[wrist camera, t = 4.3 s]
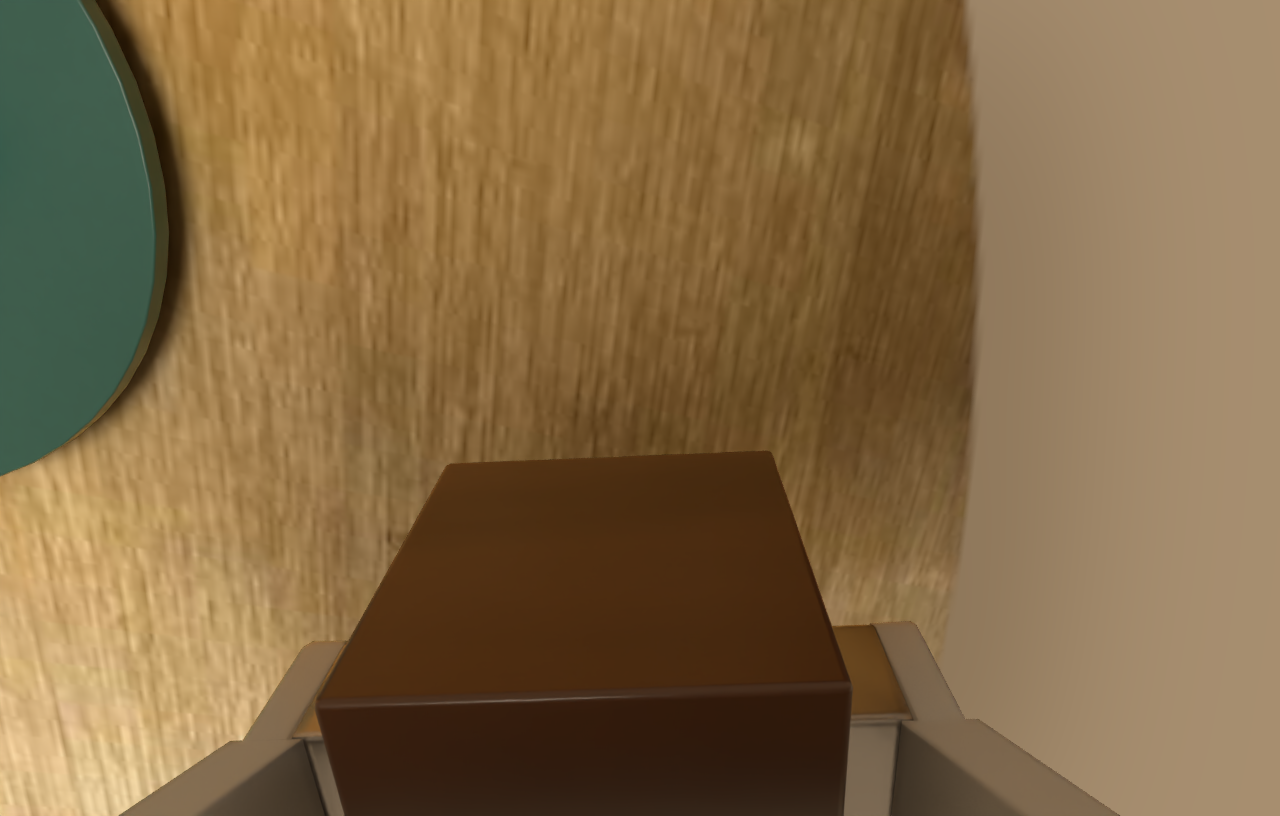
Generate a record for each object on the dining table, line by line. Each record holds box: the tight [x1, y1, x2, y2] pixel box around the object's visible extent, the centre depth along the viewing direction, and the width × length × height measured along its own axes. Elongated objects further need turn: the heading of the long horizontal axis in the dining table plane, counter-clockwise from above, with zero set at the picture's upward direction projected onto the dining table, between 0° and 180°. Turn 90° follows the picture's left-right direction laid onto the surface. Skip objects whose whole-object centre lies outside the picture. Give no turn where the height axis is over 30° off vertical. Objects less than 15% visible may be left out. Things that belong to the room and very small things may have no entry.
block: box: [315, 451, 853, 816], centre depth 9 cm, size 4×4×4 cm
